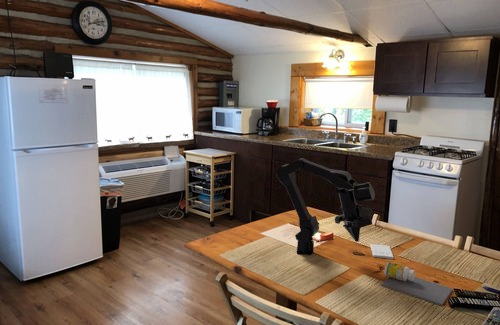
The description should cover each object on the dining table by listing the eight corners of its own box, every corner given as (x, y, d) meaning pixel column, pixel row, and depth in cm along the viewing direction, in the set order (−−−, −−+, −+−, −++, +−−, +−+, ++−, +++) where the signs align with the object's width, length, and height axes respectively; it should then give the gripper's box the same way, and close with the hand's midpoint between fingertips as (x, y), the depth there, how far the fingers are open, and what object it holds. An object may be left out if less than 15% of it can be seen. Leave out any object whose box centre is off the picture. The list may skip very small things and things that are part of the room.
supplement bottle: (383, 276, 142) (410, 284, 136) (385, 261, 142) (413, 269, 137) (387, 275, 146) (413, 282, 141) (389, 261, 146) (416, 268, 141)
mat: (381, 285, 138) (381, 284, 138) (395, 272, 148) (395, 270, 148) (441, 306, 125) (441, 304, 125) (452, 290, 136) (452, 288, 136)
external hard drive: (389, 249, 173) (393, 260, 161) (370, 247, 174) (373, 258, 162) (389, 245, 172) (393, 256, 160) (370, 243, 174) (373, 254, 162)
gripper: (379, 199, 146) (388, 239, 147) (353, 197, 164) (361, 232, 165) (354, 206, 143) (363, 247, 144) (330, 203, 161) (338, 240, 162)
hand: (357, 241), depth 153 cm, fingers closed
